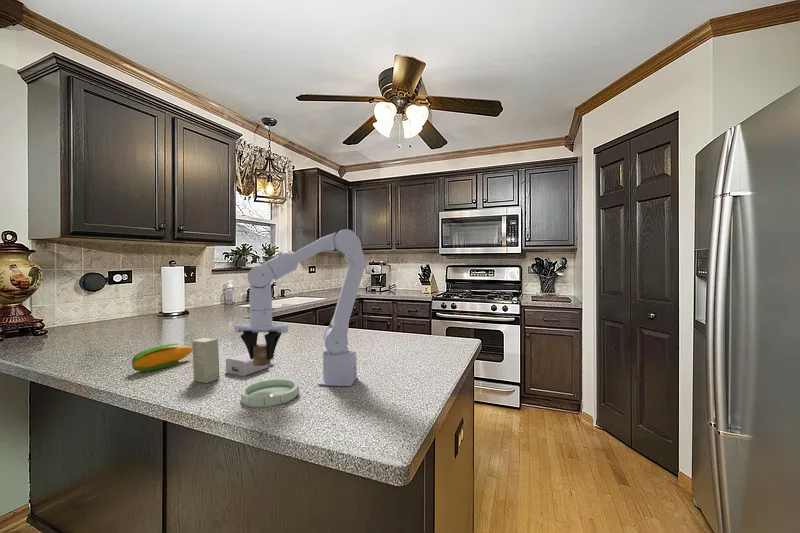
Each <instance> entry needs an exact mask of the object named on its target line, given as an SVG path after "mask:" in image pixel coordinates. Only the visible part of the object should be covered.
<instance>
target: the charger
mask: <svg viewBox="0 0 800 533" xmlns="http://www.w3.org/2000/svg"><path fill="white" fill-rule="evenodd" d="M275 357H276V355H275V354H274V356H273V358H272V359H270V362H272V361H274V359H275ZM266 369H269V364H268V365H264V366H254V365H253V359H250V356H249V352H246V353H243V354H240V355H236V356H232V357H230V358H226V359H225V371H226V373H228V374H232V373H233V375H236V374H237V376H241V375H242V376H241V377H246V376H249V375H252V374H254V373H257V371H258V372H260V370H261V371H263V370H266Z"/></svg>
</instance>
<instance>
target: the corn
mask: <svg viewBox="0 0 800 533" xmlns="http://www.w3.org/2000/svg"><path fill="white" fill-rule="evenodd" d="M177 345H179V343H170V344H169V343H168V344H163V345H158V346H155V347H151V348H148V349H144V350H141V351H140V352H138V353H137V354H136V355H135V356H133V358H132V359H131V366H132V368H133V370H135V371H137V372H143V373H146V372H147V373H148V372H149V371H150V372H153V371H157V370H160V369H161V370H162V369H165V368H169V367H171V366H174V365H176V364H179V362H180V360H183V359H184V358H187V356H189V355H190V354H191V353H192V347H190V346H187V345H184V346H183V345H182V346H177Z"/></svg>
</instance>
